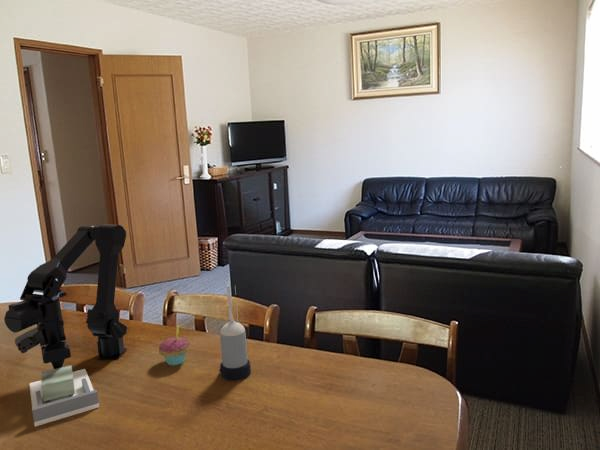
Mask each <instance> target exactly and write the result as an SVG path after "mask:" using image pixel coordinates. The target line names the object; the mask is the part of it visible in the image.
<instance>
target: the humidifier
mask: <svg viewBox="0 0 600 450" xmlns="http://www.w3.org/2000/svg"><path fill="white" fill-rule="evenodd" d="M234 290H235V291H234V292H235V294H237V292H236V290H237V289H236V286H234ZM226 291H227V301H228V308H227V309H228V310H227V311H228V312H227V313H228V318H229V321H228V322H227V323H225V324H224V325H223V326H222V327H221V329H220V332H219V336H220V337H219V338H220V350H221V363H220V367H219V370H218V371H219V373H220V377H221V379H222V380H225V381H228V382H236V381H241V380H244V379H247V378H249V376H250V375H251V373H252V372H251V371H252V367H251V362H250V360H249V359H248V350H247V349H248V347H247V336H246V335H247V334H246V329H245V327H244V326H243V325H242V323H240V322H239V321H238V319H239V315H238V312H236V316H237V318H236V321H235V319H234V316H233V301H232V295H231V286H230V284H227V285H226ZM235 302H236V304H237V307H236V309H239V308H238V306H239V304H238V302H237V301H235Z"/></svg>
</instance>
